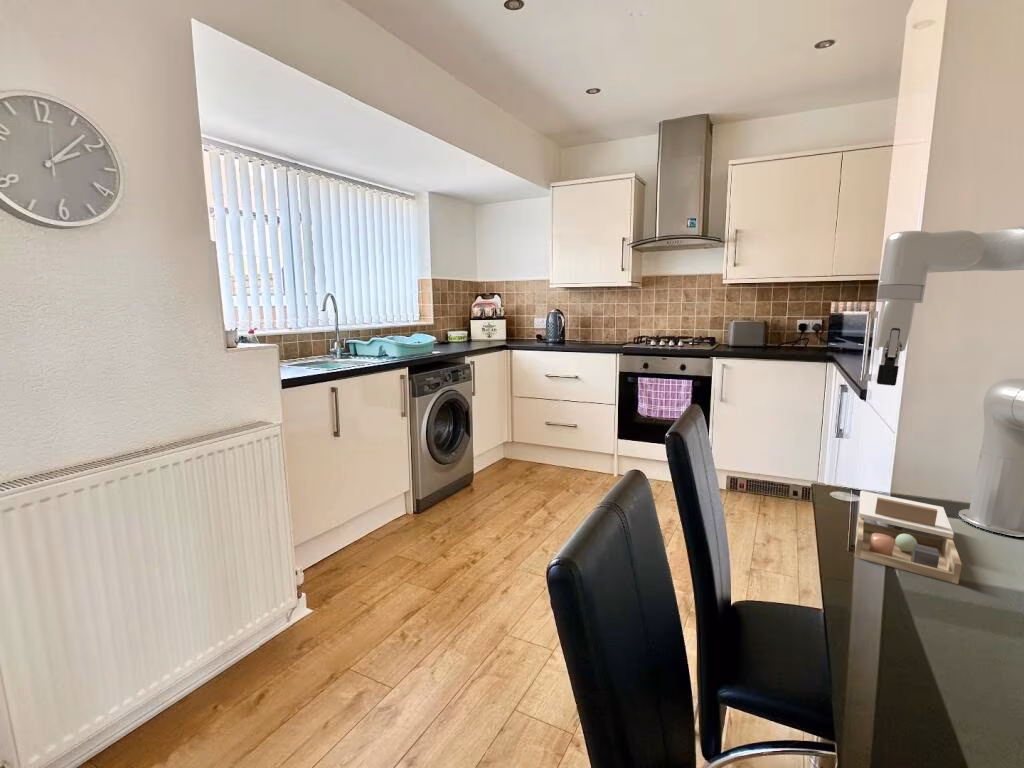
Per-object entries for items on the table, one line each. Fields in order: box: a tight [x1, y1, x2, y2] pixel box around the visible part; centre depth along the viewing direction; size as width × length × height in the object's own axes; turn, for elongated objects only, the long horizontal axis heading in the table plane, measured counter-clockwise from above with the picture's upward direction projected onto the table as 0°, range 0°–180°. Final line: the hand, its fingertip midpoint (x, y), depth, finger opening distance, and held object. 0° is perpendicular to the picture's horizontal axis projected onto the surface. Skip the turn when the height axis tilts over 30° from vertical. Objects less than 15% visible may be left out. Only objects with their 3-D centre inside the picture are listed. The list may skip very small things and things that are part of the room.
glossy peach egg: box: [869, 533, 895, 557], centre depth 91 cm, size 3×3×3 cm
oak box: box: [854, 513, 963, 585], centre depth 92 cm, size 16×14×4 cm
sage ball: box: [895, 534, 917, 552], centre depth 93 cm, size 3×3×3 cm
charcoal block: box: [911, 544, 939, 568], centre depth 87 cm, size 3×3×3 cm
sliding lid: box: [858, 490, 955, 539], centre depth 101 cm, size 16×14×4 cm
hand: (885, 384), depth 106 cm, fingers closed
